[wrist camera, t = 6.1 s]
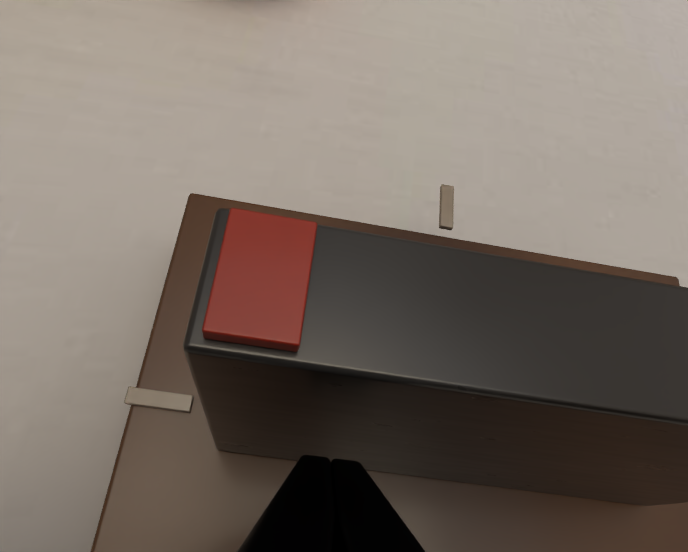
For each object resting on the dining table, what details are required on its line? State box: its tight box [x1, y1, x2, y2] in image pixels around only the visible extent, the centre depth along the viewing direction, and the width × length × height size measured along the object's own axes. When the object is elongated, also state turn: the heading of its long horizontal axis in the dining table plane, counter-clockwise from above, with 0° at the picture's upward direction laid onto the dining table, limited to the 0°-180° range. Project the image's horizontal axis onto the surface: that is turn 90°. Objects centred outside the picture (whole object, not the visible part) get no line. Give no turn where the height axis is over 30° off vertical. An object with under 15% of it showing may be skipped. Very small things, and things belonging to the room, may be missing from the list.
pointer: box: [183, 208, 688, 506], centre depth 10 cm, size 10×2×7 cm, turn 84°
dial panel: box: [91, 184, 688, 552], centre depth 14 cm, size 14×14×3 cm
